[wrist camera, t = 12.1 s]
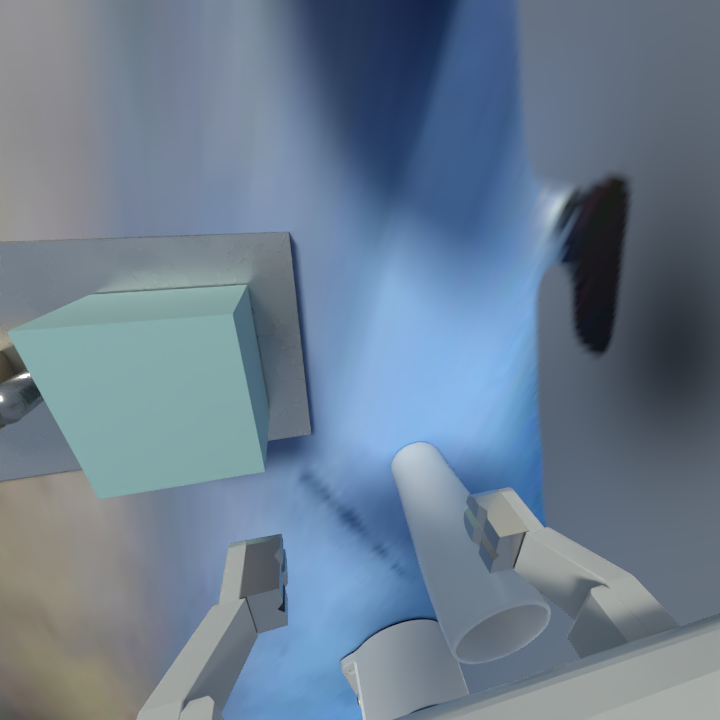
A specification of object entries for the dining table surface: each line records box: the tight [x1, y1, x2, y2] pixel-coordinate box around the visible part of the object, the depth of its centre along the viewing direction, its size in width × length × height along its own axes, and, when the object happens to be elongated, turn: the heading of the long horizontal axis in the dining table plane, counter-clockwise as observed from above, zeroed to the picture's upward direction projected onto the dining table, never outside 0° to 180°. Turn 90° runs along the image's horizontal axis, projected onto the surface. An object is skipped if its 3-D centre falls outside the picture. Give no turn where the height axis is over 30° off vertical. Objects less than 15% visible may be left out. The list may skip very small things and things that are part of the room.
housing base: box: [0, 232, 311, 481], centre depth 19 cm, size 16×32×5 cm, turn 91°
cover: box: [7, 285, 270, 499], centre depth 19 cm, size 10×9×6 cm
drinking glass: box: [391, 442, 551, 664], centre depth 26 cm, size 7×7×15 cm
